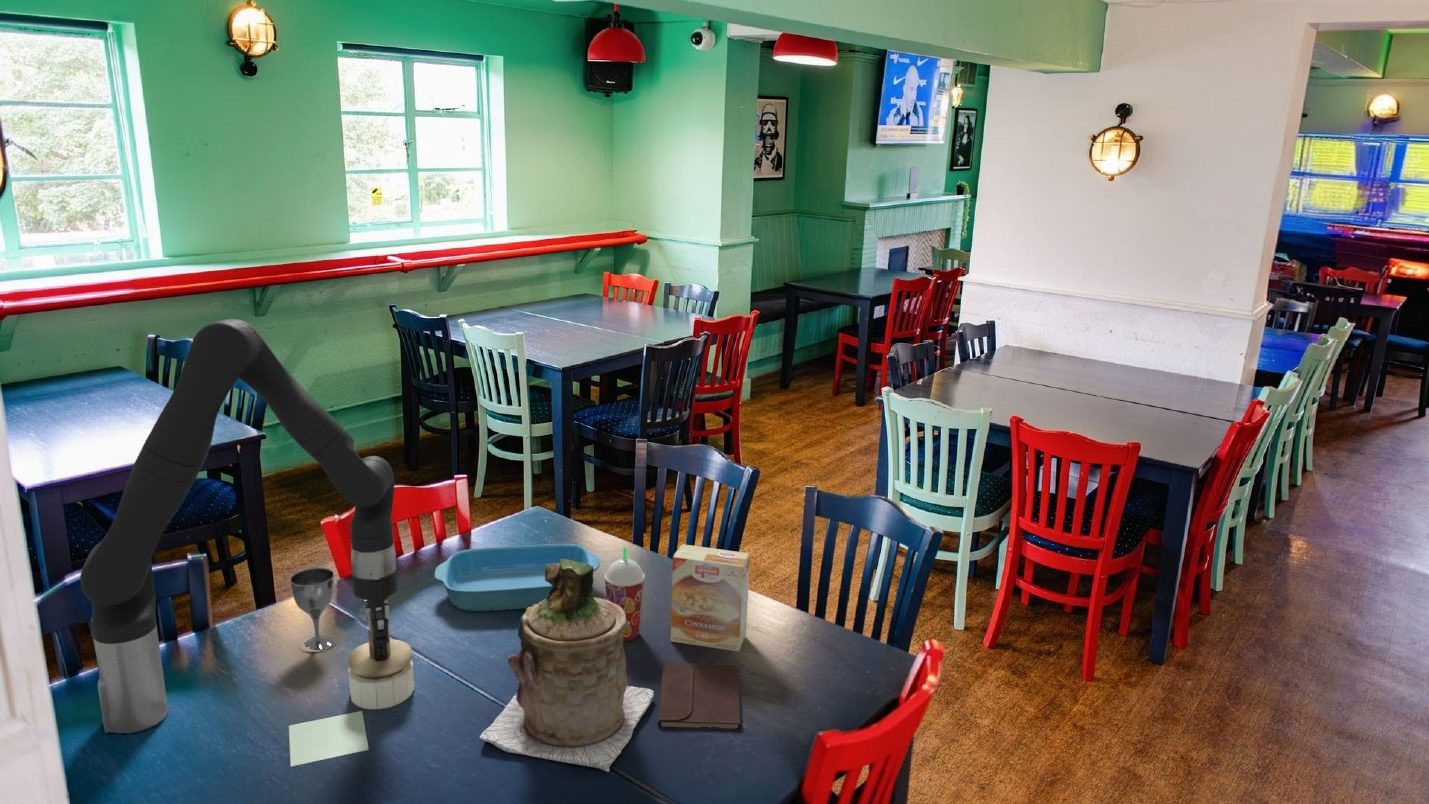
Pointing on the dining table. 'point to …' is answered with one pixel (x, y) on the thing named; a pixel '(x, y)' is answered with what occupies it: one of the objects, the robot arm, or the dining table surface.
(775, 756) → the dining table surface
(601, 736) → the cookie jar
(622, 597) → the smoothie
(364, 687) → the bowl
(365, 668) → the lid
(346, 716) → the mat
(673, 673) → the notebook
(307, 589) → the wine glass
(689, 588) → the coffeecake box
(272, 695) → the dining table surface
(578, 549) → the casserole dish
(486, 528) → the dining table surface
